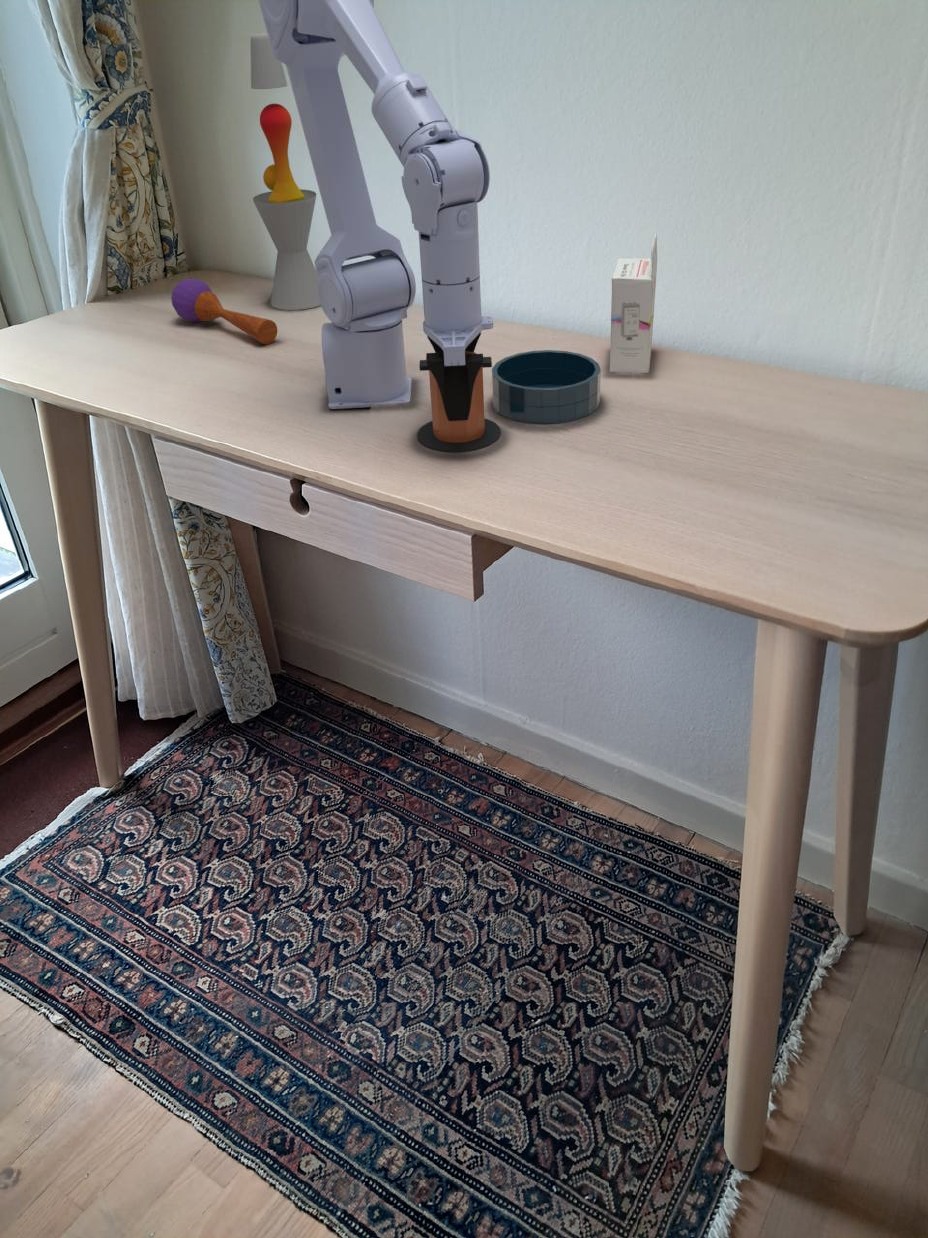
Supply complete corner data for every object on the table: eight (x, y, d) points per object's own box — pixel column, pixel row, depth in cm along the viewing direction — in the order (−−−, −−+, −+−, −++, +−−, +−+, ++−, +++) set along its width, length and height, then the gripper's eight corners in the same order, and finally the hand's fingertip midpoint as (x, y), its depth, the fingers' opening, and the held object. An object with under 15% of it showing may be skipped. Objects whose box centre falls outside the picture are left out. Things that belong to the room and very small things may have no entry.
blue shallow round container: (495, 431, 107) (494, 392, 104) (490, 389, 117) (489, 352, 114) (605, 426, 107) (607, 386, 104) (591, 384, 117) (592, 347, 114)
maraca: (244, 322, 129) (157, 284, 140) (256, 361, 133) (171, 322, 144) (278, 302, 132) (191, 267, 142) (289, 341, 136) (203, 304, 147)
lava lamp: (341, 298, 149) (310, 30, 129) (294, 314, 144) (254, 37, 124) (303, 288, 154) (268, 29, 134) (257, 303, 149) (213, 35, 129)
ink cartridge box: (612, 351, 125) (617, 230, 117) (651, 352, 125) (659, 231, 116) (607, 376, 119) (611, 250, 110) (648, 377, 118) (656, 250, 109)
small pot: (424, 444, 103) (418, 371, 99) (424, 423, 108) (419, 352, 103) (494, 441, 103) (492, 367, 98) (492, 419, 108) (490, 348, 103)
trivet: (416, 459, 102) (416, 452, 102) (418, 424, 110) (417, 417, 109) (503, 455, 102) (502, 448, 102) (498, 420, 109) (498, 413, 109)
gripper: (495, 296, 90) (498, 434, 98) (488, 254, 102) (492, 380, 110) (418, 300, 90) (428, 437, 98) (420, 258, 102) (429, 383, 110)
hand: (457, 407), depth 104 cm, fingers closed on small pot, 5 cm apart
